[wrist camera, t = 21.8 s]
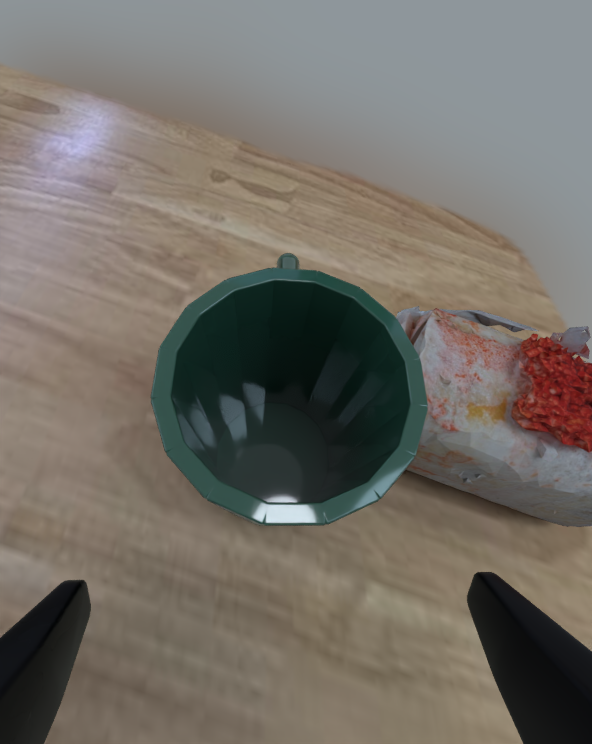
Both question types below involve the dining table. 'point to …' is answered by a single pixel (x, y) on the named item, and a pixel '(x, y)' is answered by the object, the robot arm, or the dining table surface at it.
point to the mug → (289, 396)
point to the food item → (506, 412)
